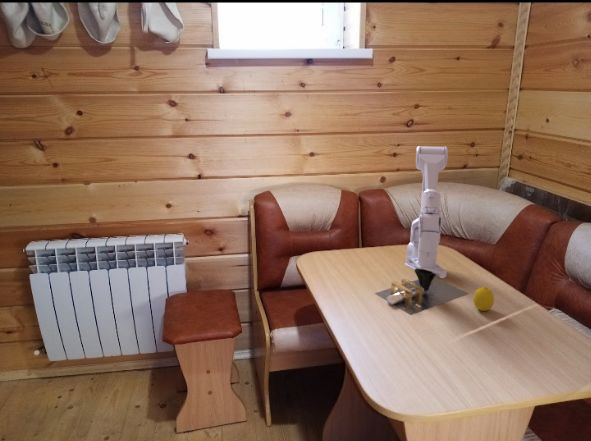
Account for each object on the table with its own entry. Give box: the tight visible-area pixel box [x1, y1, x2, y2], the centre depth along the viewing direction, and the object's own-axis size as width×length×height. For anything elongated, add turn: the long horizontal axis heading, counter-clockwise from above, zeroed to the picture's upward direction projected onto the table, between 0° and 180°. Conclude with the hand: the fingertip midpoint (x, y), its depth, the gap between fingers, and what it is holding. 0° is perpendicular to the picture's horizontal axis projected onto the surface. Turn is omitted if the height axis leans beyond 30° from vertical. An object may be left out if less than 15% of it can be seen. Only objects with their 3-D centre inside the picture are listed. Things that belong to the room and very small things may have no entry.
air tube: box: [386, 286, 424, 306], centre depth 146 cm, size 13×3×3 cm, turn 121°
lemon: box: [473, 286, 495, 312], centre depth 139 cm, size 6×6×8 cm
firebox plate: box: [374, 276, 470, 316], centre depth 150 cm, size 16×25×5 cm, turn 121°
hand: (424, 290), depth 151 cm, fingers closed
